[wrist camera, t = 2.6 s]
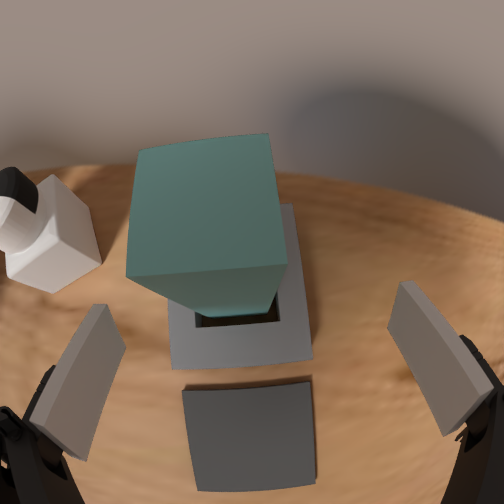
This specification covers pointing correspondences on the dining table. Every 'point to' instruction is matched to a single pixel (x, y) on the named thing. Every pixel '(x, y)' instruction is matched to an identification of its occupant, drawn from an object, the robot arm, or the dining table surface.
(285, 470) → the mat
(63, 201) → the medicine bottle
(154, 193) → the plug
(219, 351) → the socket block
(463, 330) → the dining table surface
